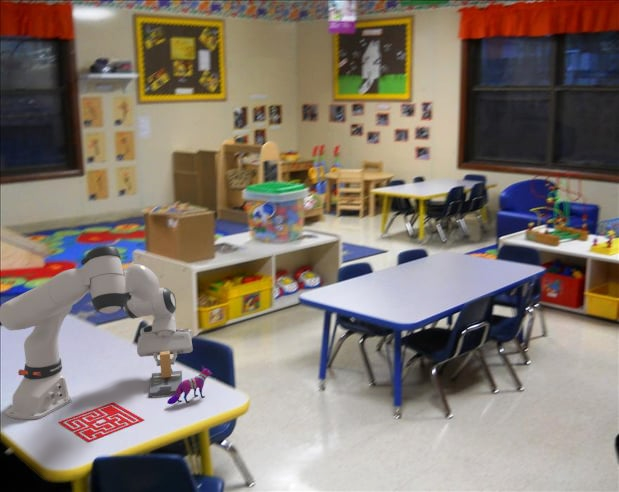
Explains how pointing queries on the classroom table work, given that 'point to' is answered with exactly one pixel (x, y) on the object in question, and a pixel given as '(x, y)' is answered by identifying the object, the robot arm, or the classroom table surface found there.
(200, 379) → the purple fox figurine
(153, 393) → the fader board
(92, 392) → the classroom table surface
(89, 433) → the maze puzzle
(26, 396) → the robot arm
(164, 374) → the fader cap
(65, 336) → the classroom table surface
